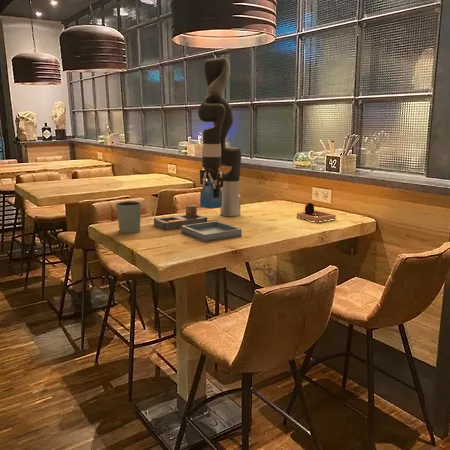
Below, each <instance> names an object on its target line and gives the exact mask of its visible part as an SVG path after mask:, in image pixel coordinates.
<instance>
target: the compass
mask: <svg viewBox="0 0 450 450" xmlns="http://www.w3.org/2000/svg"><path fill="white" fill-rule="evenodd" d="M314 210H315V206H314V204H313V203H312V202H308V203H306V204H305V207H304V212H305V213H306V214H307V215H310V216H315V217H316V216H318V217H321V215H312V214H313V213H314Z"/></svg>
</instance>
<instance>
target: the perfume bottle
mask: <svg viewBox="0 0 450 450" xmlns="http://www.w3.org/2000/svg"><path fill="white" fill-rule="evenodd" d="M207 183H208V185H205V186H202V188H201V190H200V192H199V194H200V195H199V197H200V200H199V201H200V202H199V207H201V208H205V209H210V210H211V209H218V208H220V207H222V191H221V188H220V189H219V198H214V187H213V184H212V183H211V180H210V178H208V180H207Z"/></svg>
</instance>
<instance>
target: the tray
mask: <svg viewBox="0 0 450 450" xmlns="http://www.w3.org/2000/svg"><path fill="white" fill-rule="evenodd" d="M242 230H243V229H242V228H240V227H237V226H234V225H231V224H228V223H224V222H221V221H219V220H213V221H207V222H204V223H197V224H190V225H183V226H181V228H180V233H181V234H183V235H186V236H189V237H191V238H193V239H196V240H198V241H200V242H202V243H209V242H215V241H220V240H227V239H232V238H238V237H242V233H243V231H242Z"/></svg>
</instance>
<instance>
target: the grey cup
mask: <svg viewBox="0 0 450 450" xmlns="http://www.w3.org/2000/svg"><path fill="white" fill-rule="evenodd" d="M141 205H142V203H141V202H140V201H133V200H132V201H131V200H130V201H129V200H128V201H119V202H116V203H115V207H116V213H117V215H116V216H117V223H118V230H119V233H120V234H126V233H127V235H128V233H131V234H138V233H140V232H141V208H142V207H141Z"/></svg>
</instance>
